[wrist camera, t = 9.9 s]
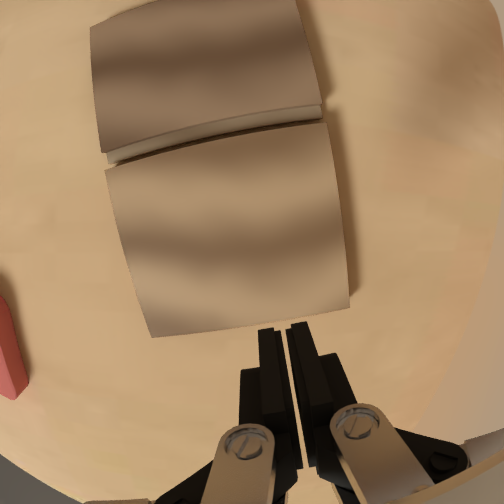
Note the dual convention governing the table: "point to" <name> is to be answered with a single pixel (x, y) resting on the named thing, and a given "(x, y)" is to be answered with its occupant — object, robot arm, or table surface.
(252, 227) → the plank
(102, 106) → the brown wooden board
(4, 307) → the plaque
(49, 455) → the table surface
